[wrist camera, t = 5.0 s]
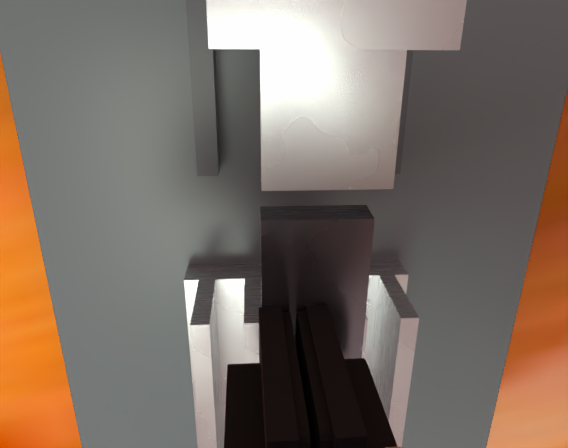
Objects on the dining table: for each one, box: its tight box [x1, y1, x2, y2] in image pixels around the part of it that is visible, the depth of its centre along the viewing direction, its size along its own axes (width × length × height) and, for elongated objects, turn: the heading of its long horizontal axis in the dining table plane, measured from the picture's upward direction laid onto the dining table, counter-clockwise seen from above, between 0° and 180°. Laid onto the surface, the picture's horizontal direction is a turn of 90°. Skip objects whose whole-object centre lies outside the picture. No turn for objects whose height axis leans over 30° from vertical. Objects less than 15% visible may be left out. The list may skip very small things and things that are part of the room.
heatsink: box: [184, 260, 419, 448], centre depth 16 cm, size 7×7×3 cm
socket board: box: [0, 0, 568, 448], centre depth 15 cm, size 22×16×4 cm
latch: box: [206, 0, 467, 191], centre depth 10 cm, size 5×4×6 cm
